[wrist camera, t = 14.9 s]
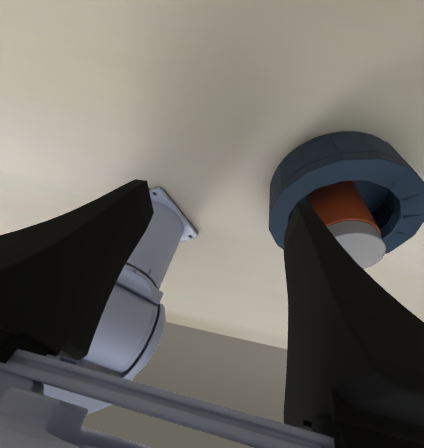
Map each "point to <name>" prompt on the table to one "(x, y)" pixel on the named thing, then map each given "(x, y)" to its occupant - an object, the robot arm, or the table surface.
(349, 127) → the table surface
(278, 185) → the dark blue bowl
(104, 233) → the robot arm
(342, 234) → the shaker
